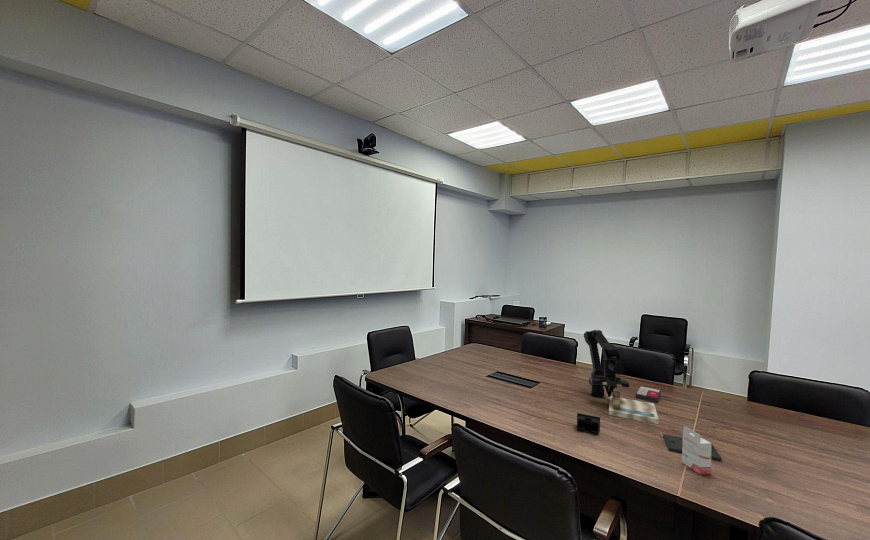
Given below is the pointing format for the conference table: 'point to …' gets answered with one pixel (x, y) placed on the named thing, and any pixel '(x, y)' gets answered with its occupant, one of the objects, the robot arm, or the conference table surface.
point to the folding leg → (616, 400)
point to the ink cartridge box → (696, 452)
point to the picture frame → (676, 446)
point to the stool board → (635, 410)
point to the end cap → (588, 424)
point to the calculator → (648, 394)
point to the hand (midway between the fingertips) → (609, 396)
